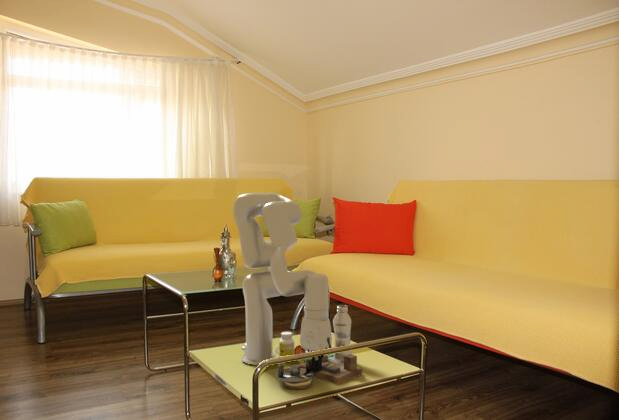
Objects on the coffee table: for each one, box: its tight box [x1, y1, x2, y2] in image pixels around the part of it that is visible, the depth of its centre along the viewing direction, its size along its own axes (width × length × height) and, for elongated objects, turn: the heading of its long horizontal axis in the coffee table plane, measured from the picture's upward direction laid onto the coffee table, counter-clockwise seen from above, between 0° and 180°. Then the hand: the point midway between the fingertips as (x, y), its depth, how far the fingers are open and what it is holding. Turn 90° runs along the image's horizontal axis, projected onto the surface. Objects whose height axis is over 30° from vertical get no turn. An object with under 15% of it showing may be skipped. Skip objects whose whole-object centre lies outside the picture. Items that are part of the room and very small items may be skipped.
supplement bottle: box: [278, 331, 295, 357], centre depth 191 cm, size 5×5×10 cm
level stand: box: [298, 353, 363, 385], centre depth 178 cm, size 18×12×6 cm, turn 45°
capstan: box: [276, 358, 314, 390], centre depth 168 cm, size 12×12×6 cm
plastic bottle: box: [332, 304, 353, 363], centre depth 188 cm, size 6×7×20 cm
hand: (316, 371), depth 168 cm, fingers closed
